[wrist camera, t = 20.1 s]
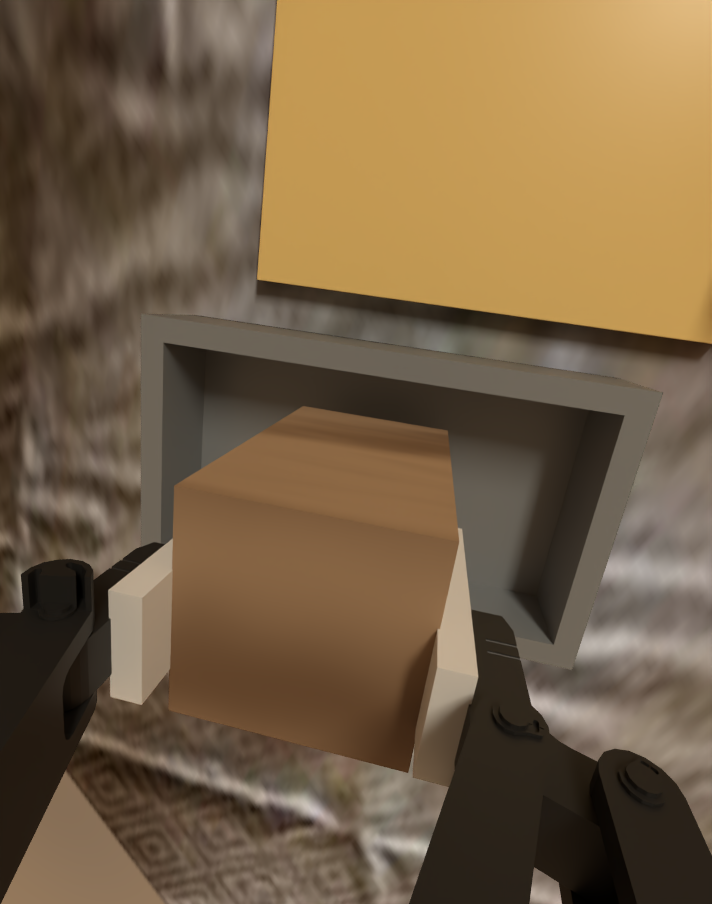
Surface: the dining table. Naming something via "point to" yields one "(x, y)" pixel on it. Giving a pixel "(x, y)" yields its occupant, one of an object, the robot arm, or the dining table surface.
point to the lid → (497, 157)
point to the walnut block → (314, 582)
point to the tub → (430, 405)
